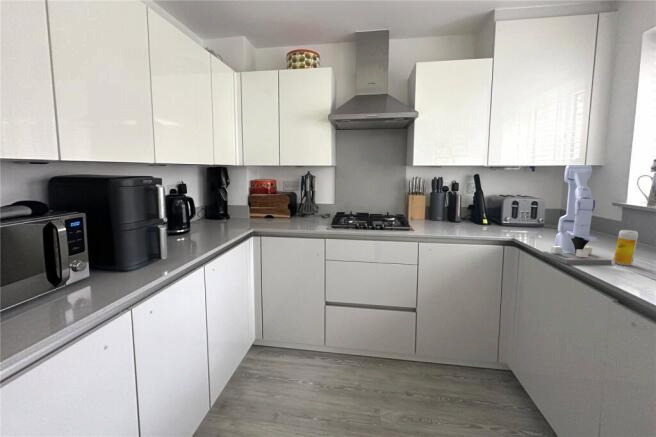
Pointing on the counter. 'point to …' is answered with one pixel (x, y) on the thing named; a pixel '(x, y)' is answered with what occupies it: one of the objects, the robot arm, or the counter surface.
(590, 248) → the breaker right
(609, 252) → the counter surface
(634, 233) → the yellow and white cylinder
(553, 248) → the block
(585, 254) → the block
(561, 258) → the breaker board
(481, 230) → the counter surface
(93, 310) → the counter surface
